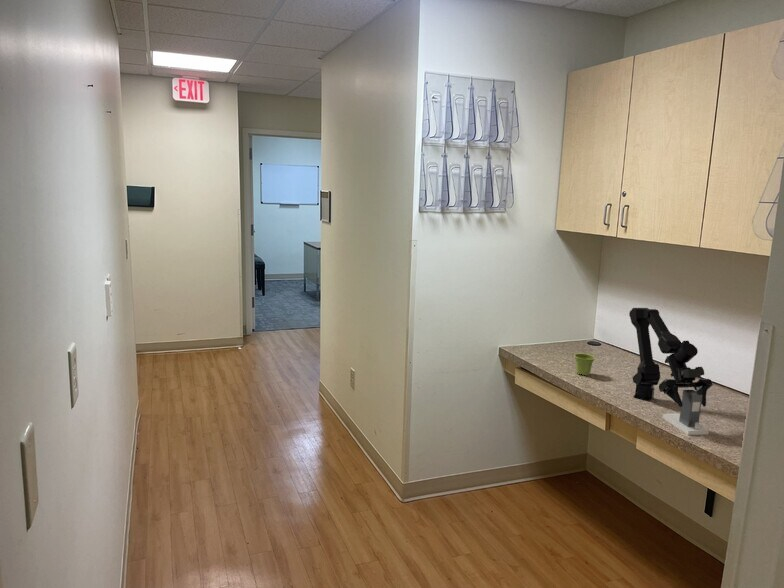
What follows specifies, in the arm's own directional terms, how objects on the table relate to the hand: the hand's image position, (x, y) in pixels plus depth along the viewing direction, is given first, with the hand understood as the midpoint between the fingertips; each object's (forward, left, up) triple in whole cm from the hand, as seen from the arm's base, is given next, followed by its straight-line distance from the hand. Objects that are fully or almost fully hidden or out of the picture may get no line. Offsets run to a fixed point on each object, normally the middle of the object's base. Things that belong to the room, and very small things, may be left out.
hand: (693, 406), depth 212 cm
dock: (-3, +2, -9) cm, 10 cm away
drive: (-1, +1, -8) cm, 8 cm away
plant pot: (-56, +34, -9) cm, 66 cm away
